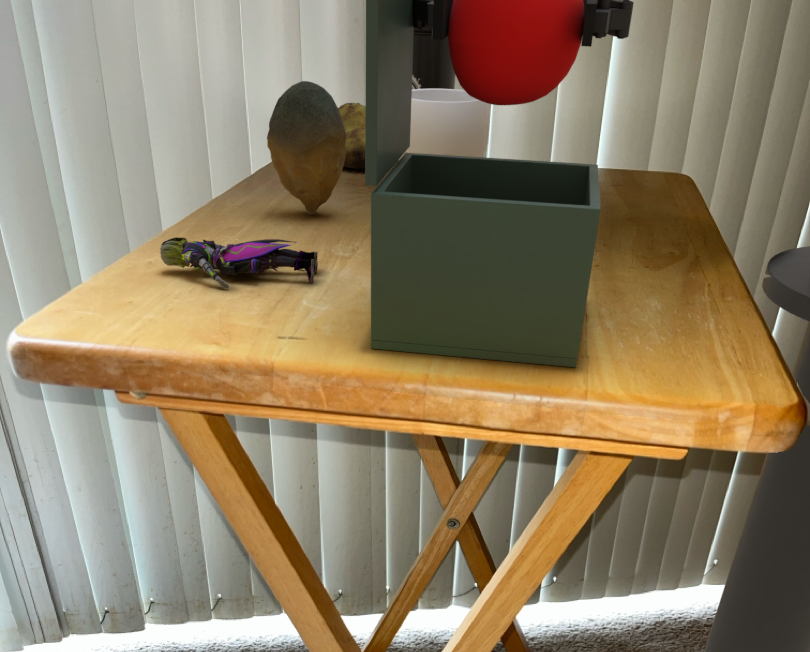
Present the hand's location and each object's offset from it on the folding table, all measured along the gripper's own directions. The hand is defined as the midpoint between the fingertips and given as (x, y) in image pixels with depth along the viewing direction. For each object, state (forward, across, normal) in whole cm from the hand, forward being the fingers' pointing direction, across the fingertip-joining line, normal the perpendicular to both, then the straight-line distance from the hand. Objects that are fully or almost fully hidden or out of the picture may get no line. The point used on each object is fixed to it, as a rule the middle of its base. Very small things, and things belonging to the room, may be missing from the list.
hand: (512, 21), depth 63 cm
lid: (-1, +9, -2) cm, 9 cm away
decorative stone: (-33, +26, -24) cm, 48 cm away
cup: (-28, +9, -24) cm, 38 cm away
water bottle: (-68, +17, -24) cm, 74 cm away
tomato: (-4, 0, -6) cm, 7 cm away
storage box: (-1, +1, -24) cm, 24 cm away
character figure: (-9, +27, -24) cm, 37 cm away
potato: (-63, +27, -24) cm, 72 cm away
